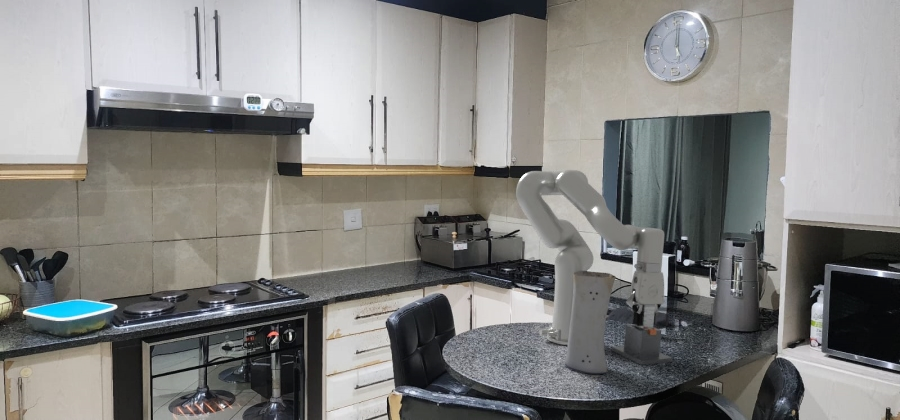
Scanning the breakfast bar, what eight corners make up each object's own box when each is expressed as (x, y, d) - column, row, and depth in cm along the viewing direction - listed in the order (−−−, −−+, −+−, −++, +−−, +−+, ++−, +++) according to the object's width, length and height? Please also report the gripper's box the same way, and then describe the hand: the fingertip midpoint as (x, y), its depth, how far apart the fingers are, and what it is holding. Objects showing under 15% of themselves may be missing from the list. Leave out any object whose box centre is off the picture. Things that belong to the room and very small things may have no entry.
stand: (641, 364, 183) (643, 333, 183) (611, 350, 196) (614, 320, 195) (671, 361, 188) (674, 330, 187) (641, 347, 201) (643, 318, 200)
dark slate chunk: (616, 312, 250) (617, 301, 250) (671, 323, 239) (672, 311, 238) (604, 320, 237) (605, 308, 237) (662, 331, 226) (663, 318, 225)
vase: (618, 372, 176) (628, 277, 174) (585, 378, 168) (594, 278, 167) (586, 359, 187) (594, 269, 185) (552, 364, 179) (561, 270, 178)
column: (641, 354, 189) (646, 304, 188) (632, 350, 193) (636, 301, 192) (651, 353, 190) (656, 304, 189) (642, 349, 195) (646, 300, 193)
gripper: (635, 270, 183) (630, 329, 185) (678, 269, 190) (673, 326, 191) (619, 265, 190) (614, 322, 191) (661, 265, 197) (656, 320, 198)
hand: (643, 323), depth 191 cm, fingers open, 4 cm apart
